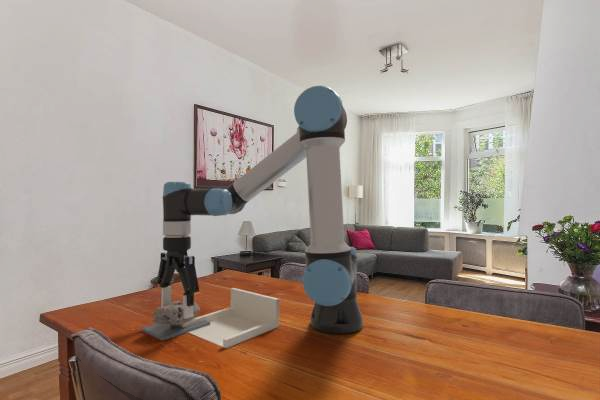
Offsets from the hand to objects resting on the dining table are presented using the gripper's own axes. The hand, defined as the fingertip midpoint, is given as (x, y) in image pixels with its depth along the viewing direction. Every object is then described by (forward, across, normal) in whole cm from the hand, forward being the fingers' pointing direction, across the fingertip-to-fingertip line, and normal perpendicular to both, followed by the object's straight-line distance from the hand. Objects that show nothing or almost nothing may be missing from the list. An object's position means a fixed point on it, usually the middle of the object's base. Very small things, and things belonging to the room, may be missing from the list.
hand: (177, 313), depth 99 cm
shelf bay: (+4, -12, -9) cm, 15 cm away
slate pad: (+4, 0, 0) cm, 4 cm away
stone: (+2, 0, 0) cm, 2 cm away
